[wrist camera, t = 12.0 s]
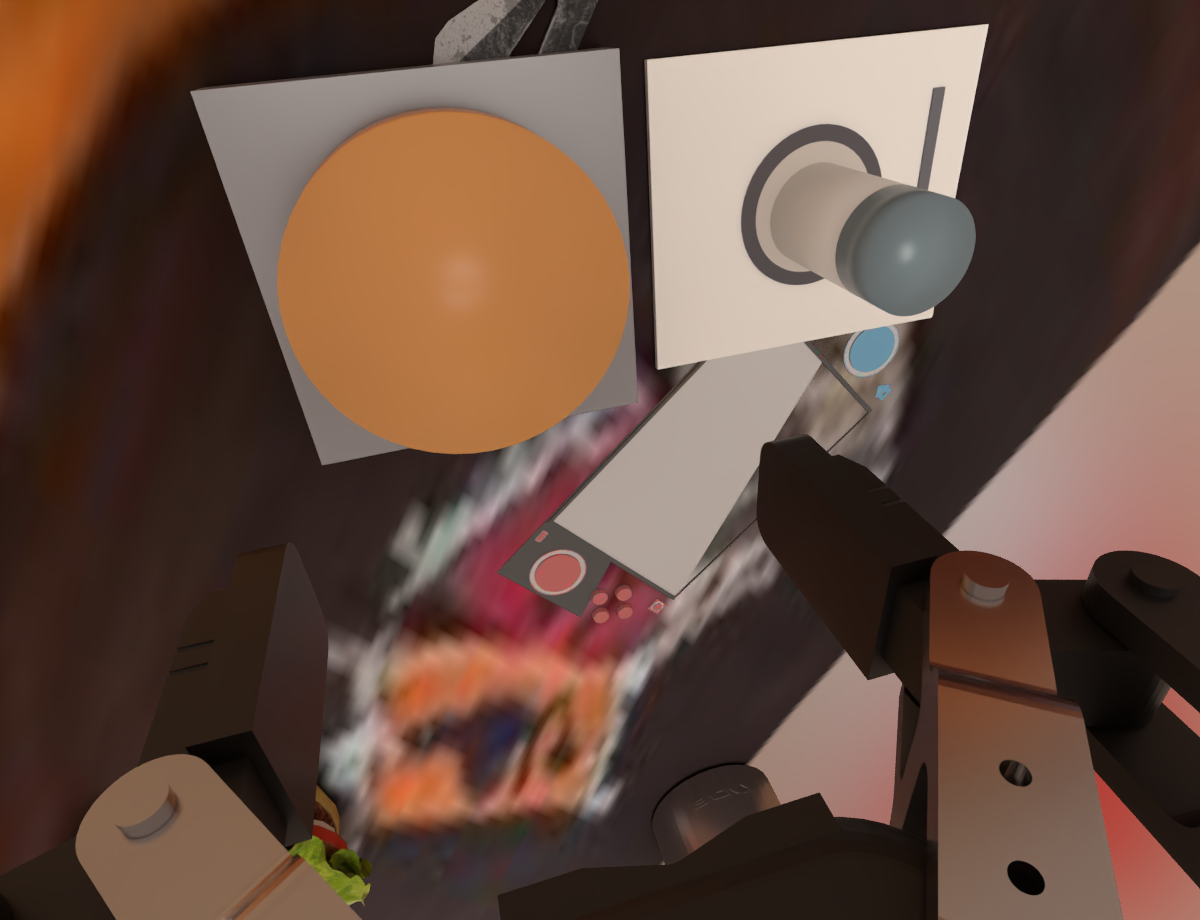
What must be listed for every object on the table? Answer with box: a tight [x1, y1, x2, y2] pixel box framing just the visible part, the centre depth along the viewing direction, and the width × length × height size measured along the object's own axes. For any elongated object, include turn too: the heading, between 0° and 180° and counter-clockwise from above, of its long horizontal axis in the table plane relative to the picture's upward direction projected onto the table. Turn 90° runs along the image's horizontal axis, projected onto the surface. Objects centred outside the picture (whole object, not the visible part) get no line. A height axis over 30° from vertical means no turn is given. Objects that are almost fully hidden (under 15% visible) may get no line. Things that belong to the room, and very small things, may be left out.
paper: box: [644, 24, 988, 370], centre depth 29 cm, size 12×14×1 cm
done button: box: [277, 107, 630, 454], centre depth 23 cm, size 11×11×2 cm
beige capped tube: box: [770, 162, 976, 316], centre depth 26 cm, size 4×4×7 cm
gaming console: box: [497, 325, 899, 623], centre depth 35 cm, size 22×1×10 cm
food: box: [285, 786, 372, 906], centre depth 36 cm, size 14×14×8 cm
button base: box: [190, 48, 638, 465], centre depth 25 cm, size 13×13×2 cm
